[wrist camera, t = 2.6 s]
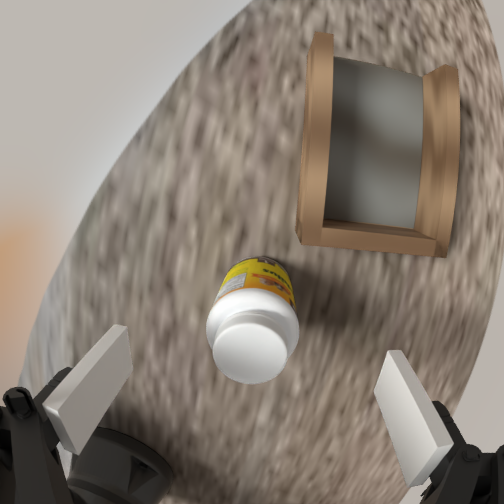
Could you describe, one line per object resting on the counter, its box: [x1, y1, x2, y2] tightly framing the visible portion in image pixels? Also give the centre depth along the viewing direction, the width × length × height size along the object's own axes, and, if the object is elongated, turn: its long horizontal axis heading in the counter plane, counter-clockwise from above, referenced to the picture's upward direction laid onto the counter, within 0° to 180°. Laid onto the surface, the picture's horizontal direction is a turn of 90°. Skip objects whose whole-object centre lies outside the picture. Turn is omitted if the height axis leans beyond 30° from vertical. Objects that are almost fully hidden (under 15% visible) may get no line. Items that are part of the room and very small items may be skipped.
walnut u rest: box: [295, 32, 460, 258], centre depth 19 cm, size 14×11×5 cm
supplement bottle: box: [206, 257, 299, 384], centre depth 20 cm, size 6×6×10 cm
